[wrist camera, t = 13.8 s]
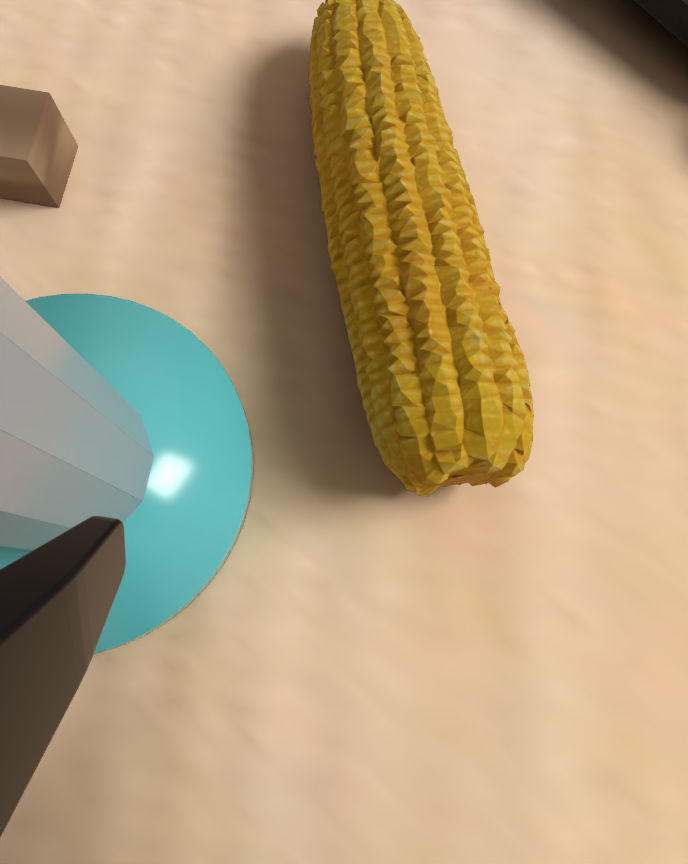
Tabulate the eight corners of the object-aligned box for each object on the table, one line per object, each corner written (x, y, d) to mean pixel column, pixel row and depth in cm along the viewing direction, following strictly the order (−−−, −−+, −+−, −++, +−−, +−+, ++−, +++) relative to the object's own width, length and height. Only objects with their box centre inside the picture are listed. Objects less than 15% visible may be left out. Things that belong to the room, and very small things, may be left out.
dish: (213, 685, 21) (207, 691, 20) (-162, 624, 21) (-190, 626, 20) (282, 336, 25) (280, 323, 23) (-45, 283, 25) (-62, 268, 23)
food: (521, 485, 24) (587, 451, 18) (377, 515, 23) (396, 492, 17) (394, 37, 28) (413, -103, 23) (272, 55, 28) (260, -84, 22)
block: (59, 208, 26) (26, 160, 23) (-12, 197, 26) (-55, 147, 23) (79, 147, 26) (49, 92, 24) (9, 136, 26) (-30, 80, 24)
